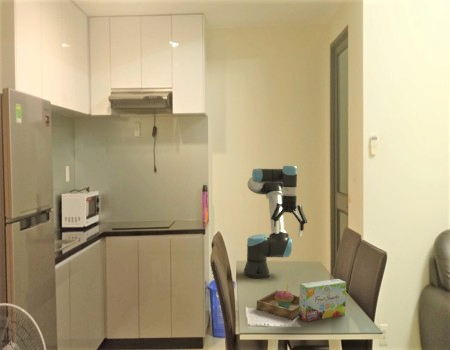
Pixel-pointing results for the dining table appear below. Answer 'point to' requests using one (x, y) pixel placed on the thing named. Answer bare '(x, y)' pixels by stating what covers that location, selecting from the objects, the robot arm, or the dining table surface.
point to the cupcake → (284, 298)
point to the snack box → (322, 299)
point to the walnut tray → (272, 307)
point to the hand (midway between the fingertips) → (288, 235)
